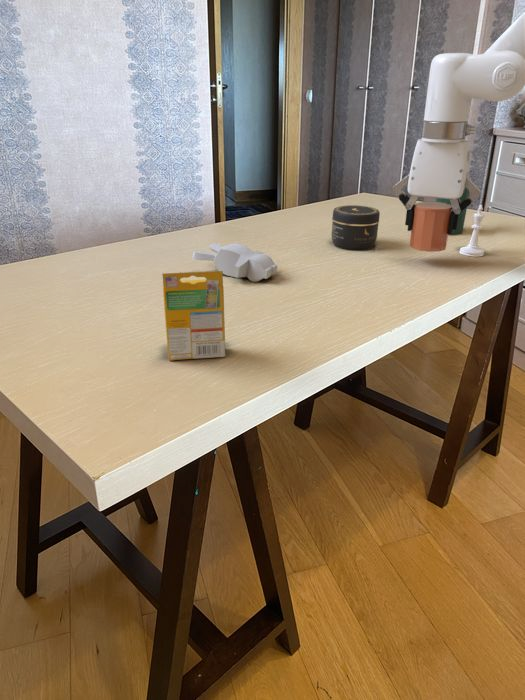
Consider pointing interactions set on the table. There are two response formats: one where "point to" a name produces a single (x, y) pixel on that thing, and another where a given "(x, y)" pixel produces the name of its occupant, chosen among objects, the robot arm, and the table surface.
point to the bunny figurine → (239, 261)
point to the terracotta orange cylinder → (430, 226)
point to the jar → (355, 227)
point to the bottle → (461, 214)
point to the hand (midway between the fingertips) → (430, 230)
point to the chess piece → (474, 237)
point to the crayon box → (194, 315)
